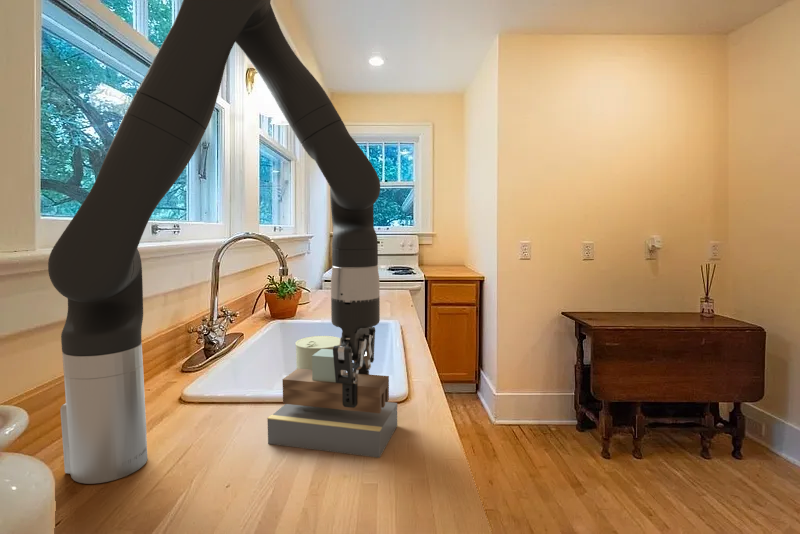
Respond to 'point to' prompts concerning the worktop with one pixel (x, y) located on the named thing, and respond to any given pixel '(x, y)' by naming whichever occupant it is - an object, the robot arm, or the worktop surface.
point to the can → (312, 349)
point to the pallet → (335, 392)
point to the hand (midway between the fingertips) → (356, 398)
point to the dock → (333, 429)
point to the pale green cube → (323, 366)
